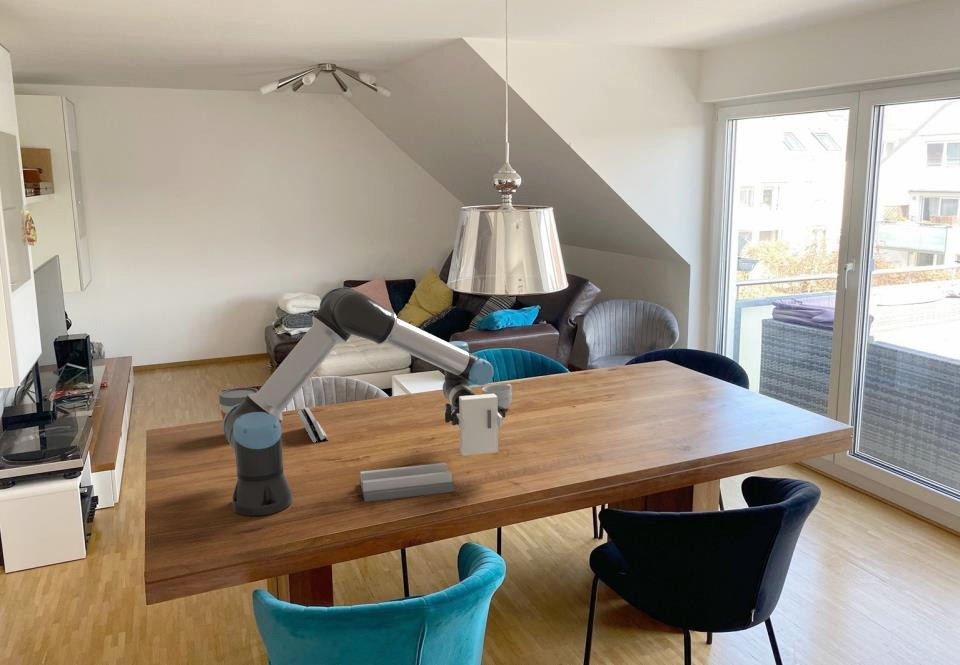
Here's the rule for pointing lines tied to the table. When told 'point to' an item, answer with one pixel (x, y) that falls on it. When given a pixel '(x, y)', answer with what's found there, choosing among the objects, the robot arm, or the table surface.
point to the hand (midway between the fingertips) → (482, 424)
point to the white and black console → (311, 425)
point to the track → (406, 482)
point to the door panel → (479, 424)
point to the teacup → (500, 393)
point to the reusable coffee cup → (233, 398)
